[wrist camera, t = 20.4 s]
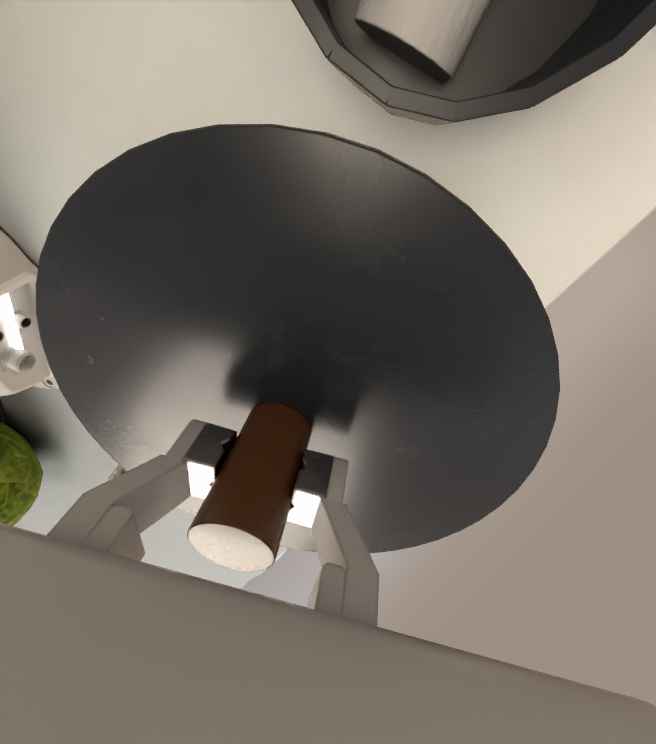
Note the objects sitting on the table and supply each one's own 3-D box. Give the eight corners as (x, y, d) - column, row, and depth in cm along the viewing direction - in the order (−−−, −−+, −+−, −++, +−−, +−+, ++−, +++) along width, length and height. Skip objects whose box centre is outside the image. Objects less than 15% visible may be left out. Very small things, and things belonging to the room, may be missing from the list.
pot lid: (425, 563, 18) (434, 705, 14) (115, 479, 19) (25, 590, 14) (710, 225, 8) (1165, 360, 3) (-27, 44, 8) (-577, -69, 4)
